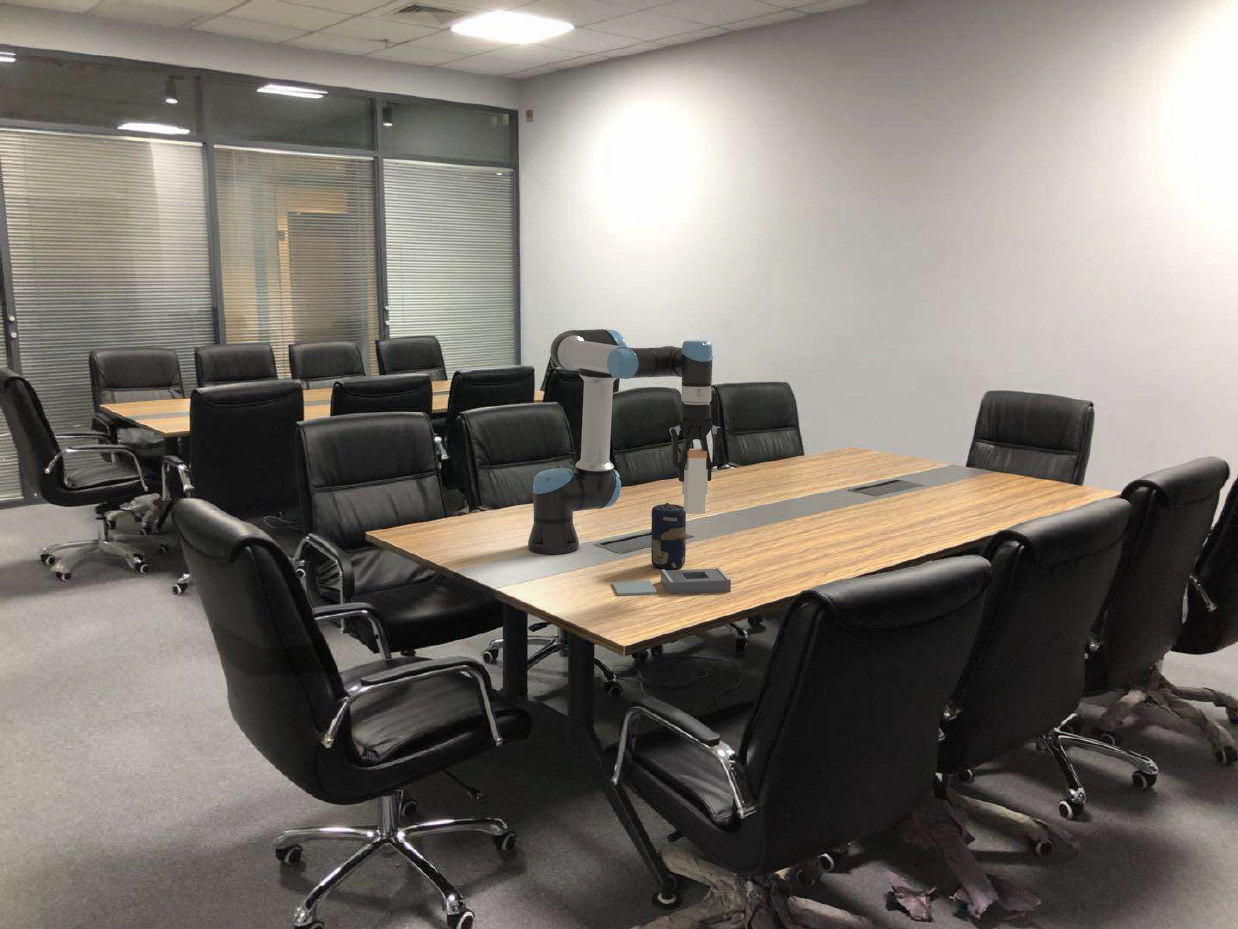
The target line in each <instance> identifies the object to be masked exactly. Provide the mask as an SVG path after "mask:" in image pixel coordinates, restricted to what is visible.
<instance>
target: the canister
mask: <svg viewBox="0 0 1238 929" xmlns="http://www.w3.org/2000/svg"><path fill="white" fill-rule="evenodd" d="M686 516H687V513H686V512H685V511H684V505H683V506H682V505H680V504H674V503H673V504H672V503H669V502H666V503H663V504H657V505H655V506H653V507H652V509H651V525H650V526H651V527H650V528H651V536H650V537H651V548H650V549H651V553H650V554H651V556H650V557H651V559H650V560H651V564H652V565H653V566H654V567H656V568H659V569H665V570H666V569H667V570H668V569H671V570H672V569H678V568H681V567H683V566H684V565H685V564H686V556H687V555H686V553H687V552H686V550H687V549H686V548H687V546H686V544H687V539H686V538H687V534H686V532H687V531H686V530H687V529H686V528H687V527H686V526H687V517H686Z"/></svg>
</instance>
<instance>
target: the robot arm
mask: <svg viewBox="0 0 1238 929" xmlns="http://www.w3.org/2000/svg"><path fill="white" fill-rule="evenodd" d="M681 346H682V347H679V346H678V347H676V346H673V345H665V346H660V347H658V346H657V347H628V346H627V343H626V340H625V339H624V336H623V335H622V333H620V332H619V331H617V330H614V329H604V328H602V329H600V328H598V329H595V328H594V329H571V330H567V331H563V332H561V333H560V334H558V335H557V336H556V337H555V338H554V339H553V340H552V343H551V345H550V350H549V351H550V357H551V358H550V359H552V362H553V363H554V364H555V365H556V366H557V367H558V368H560V369H562V370H565V371H579V373H578V374H579V375H578V376H580V378H581V379H582V381H583V402H582V403H583V404H582V425H581V444H580V448H581V450H580V459H579V460H578V461H577V462H576V463H575V468H574V472H573V470H572V469H570V468H566V467H560V468H550V469H545V470H543V471H540V472H538V473H536V475H535V476H534V478H533V487H532V492H533V493H532V498H533V501H532V502H533V524H532V527H531V530H530V533H529V536H528V540H527V548H528V550H529V551H530V552H533V553H537V554H541V555H542V554H545V555H561V554H562V555H563V554H568V553H572V552H575V551H577V550H579V548H580V541H579V537H578V534H577V531H576V528H575V525H574V519H573V518H574V517H573V515H574V513H573V512H580V511H588V510H589V511H590V510H602V509H604V508H609V507H612V506H613V505H614V504H616V502H617V501H618V500H619V498H620V495H621V491H622V481H621V479H620V473H619V472H618V471H617V470H616V469H615V466H614V464H613V463H612V462H611V460H610V455H611V454H610V452H611V433H612V432H611V431H612V416H613V415H612V413H613V396H614V395H613V394H614V382H615V381H616V380H617V379H620V380H621V379H623V380H629V379H639V378H640V379H642V378H663V377H664V378H666V377H667V378H668V377H675V378H676V377H677V378H678V377H679V378H681V401H682V403H681V405H680V406H681V407H680V422H679V423H678V425H676V426H674V427H669V428H668V432H669V434H670V437H671V438H670V440H671V442H670V443H671V445H670V447H671V448H670V452H671V453H670V454H671V455H670V456H671V458H670V459H671V460H670V462H671V463H670V464H671V466H672V467H673V468H677V470H678V473H677V474H678V477H677V478H678V481H679V482H681V494H682V495H683V496H684V495H687V479H688V470H687V469H686V468H685V465H686V461H687V451H689V449H691V445H692V443H693V441H695V440H698V441H699V443H700V448H702V450H704V451H707V458H706V491H705V496H707V495H708V482H711V481H712V470H713V468H715V467H719V465H720V445H721V444H720V442H721V436H722V434H723V428H722V427H720V426H716V425H714V424H713V422H712V404H711V403H710V402H712V382H713V380H712V379H713V378H712V377H713V360H714V357H713V356H714V355H713V345H712V342H711V341H708V340H685V341H683V343H682V345H681ZM680 431H681V433H683V435H684V437H683V438H684V439H683V444H682V448H681V452H680V457H679V435H680ZM710 431H711V433H712V454H710V450H709V445H708V439H707V436H708V434H709V433H710ZM711 455H712V456H711Z"/></svg>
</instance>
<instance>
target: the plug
mask: <svg viewBox="0 0 1238 929" xmlns="http://www.w3.org/2000/svg"><path fill="white" fill-rule="evenodd" d="M706 458H707V451H704V450H702V448H701V447H700V448H698V447H697V448H690V449H689V451H687V461H686V465H685V468H686V469H687V470H688V479H687V495H683V507H684V511H685V512H686V515H698V514H699V515H700V514H701V515H703V514H706V495H705V491H706Z"/></svg>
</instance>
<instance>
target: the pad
mask: <svg viewBox="0 0 1238 929" xmlns="http://www.w3.org/2000/svg"><path fill="white" fill-rule="evenodd" d="M611 585H612V587H613V589H614V591H615V593H616V595H617V596H640V595H641V596H643V595H645V596H646V595H657V594H658V592H657V589H656V588H655V586H654V584H653V583H652V581H651V580H650V579H649V580H628V581H612V582H611Z"/></svg>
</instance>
